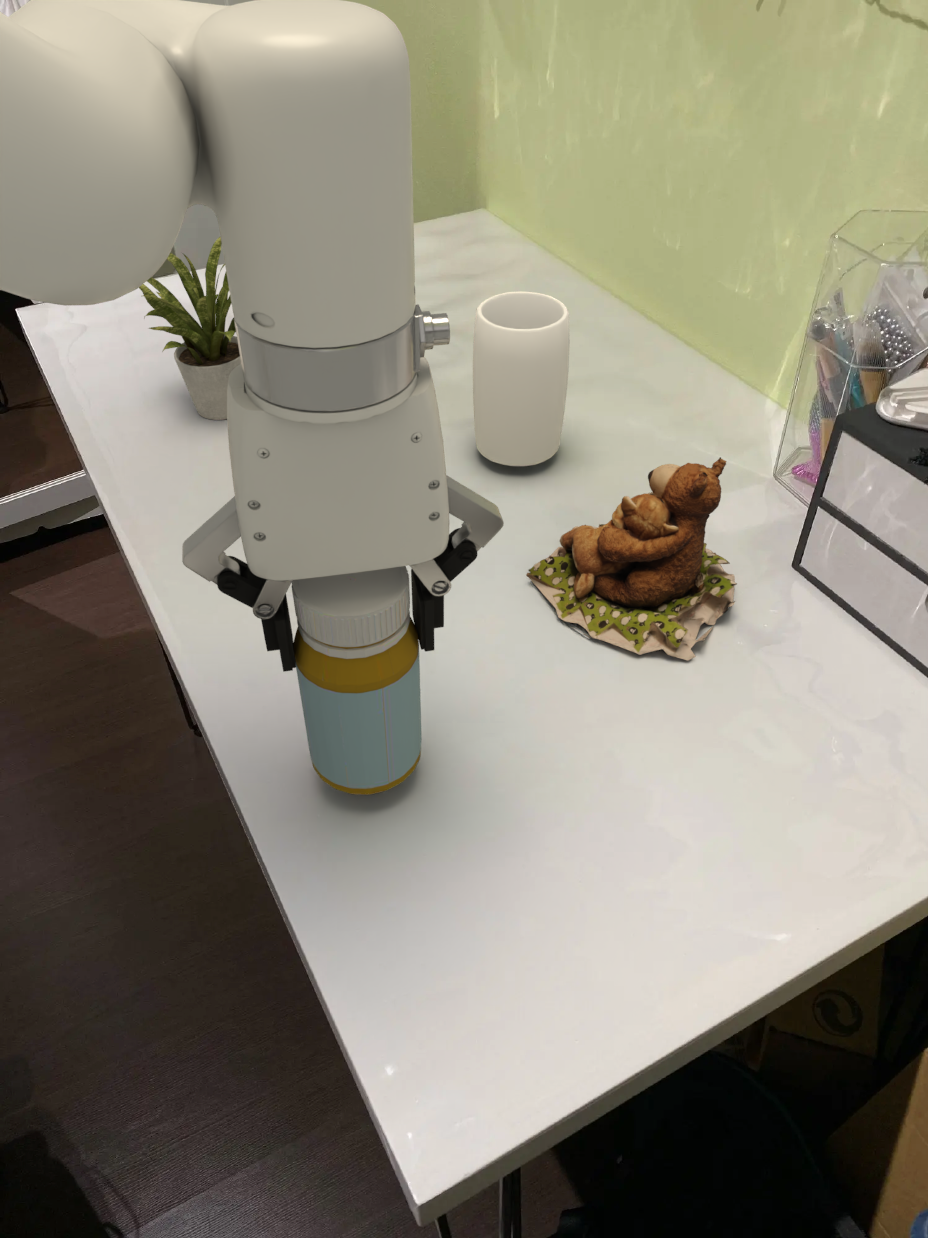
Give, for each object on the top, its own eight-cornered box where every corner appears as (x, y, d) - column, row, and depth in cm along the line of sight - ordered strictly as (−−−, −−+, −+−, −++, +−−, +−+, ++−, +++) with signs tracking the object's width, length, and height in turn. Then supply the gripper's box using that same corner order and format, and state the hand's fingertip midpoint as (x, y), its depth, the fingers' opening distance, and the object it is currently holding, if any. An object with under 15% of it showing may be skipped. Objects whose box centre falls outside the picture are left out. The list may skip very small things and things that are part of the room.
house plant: (283, 358, 100) (259, 204, 89) (319, 418, 91) (297, 255, 80) (152, 385, 96) (109, 227, 85) (176, 450, 87) (131, 283, 76)
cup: (509, 420, 90) (513, 280, 81) (579, 450, 86) (592, 306, 77) (454, 457, 86) (451, 313, 76) (525, 490, 82) (532, 343, 72)
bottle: (442, 767, 57) (442, 589, 47) (345, 819, 54) (322, 641, 44) (386, 699, 62) (374, 521, 51) (292, 743, 59) (260, 564, 48)
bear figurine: (597, 515, 79) (611, 388, 71) (758, 583, 72) (796, 452, 64) (505, 598, 71) (510, 467, 63) (677, 684, 64) (707, 550, 56)
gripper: (504, 297, 43) (490, 581, 55) (123, 327, 40) (198, 619, 52) (548, 373, 38) (522, 669, 50) (112, 413, 35) (198, 717, 47)
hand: (356, 642), depth 51 cm, fingers closed on bottle, 7 cm apart
